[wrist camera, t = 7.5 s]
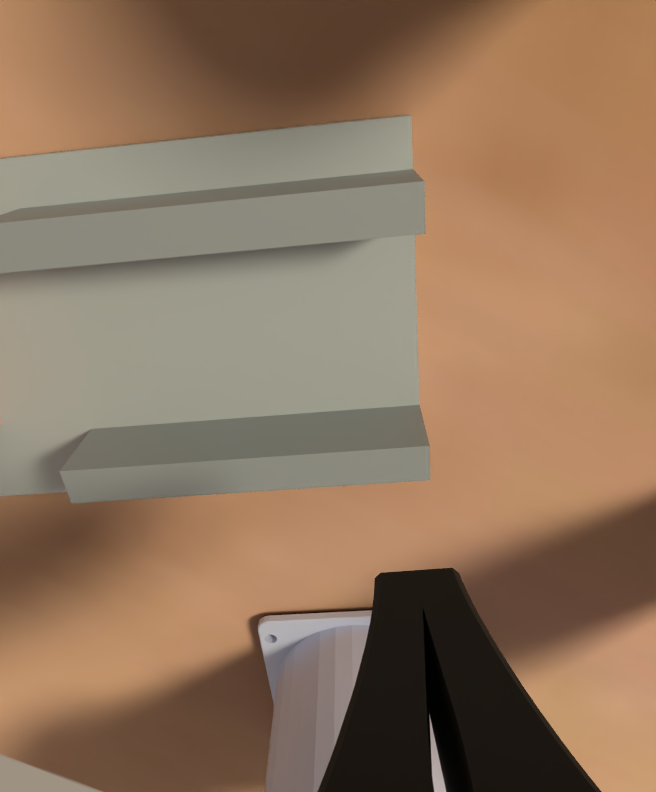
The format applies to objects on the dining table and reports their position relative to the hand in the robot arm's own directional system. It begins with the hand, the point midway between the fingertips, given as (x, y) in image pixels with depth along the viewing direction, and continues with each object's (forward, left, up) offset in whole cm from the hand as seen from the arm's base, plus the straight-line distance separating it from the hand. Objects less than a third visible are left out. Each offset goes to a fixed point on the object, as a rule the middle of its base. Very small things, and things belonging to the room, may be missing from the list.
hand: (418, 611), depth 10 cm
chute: (+2, +10, -10) cm, 15 cm away
